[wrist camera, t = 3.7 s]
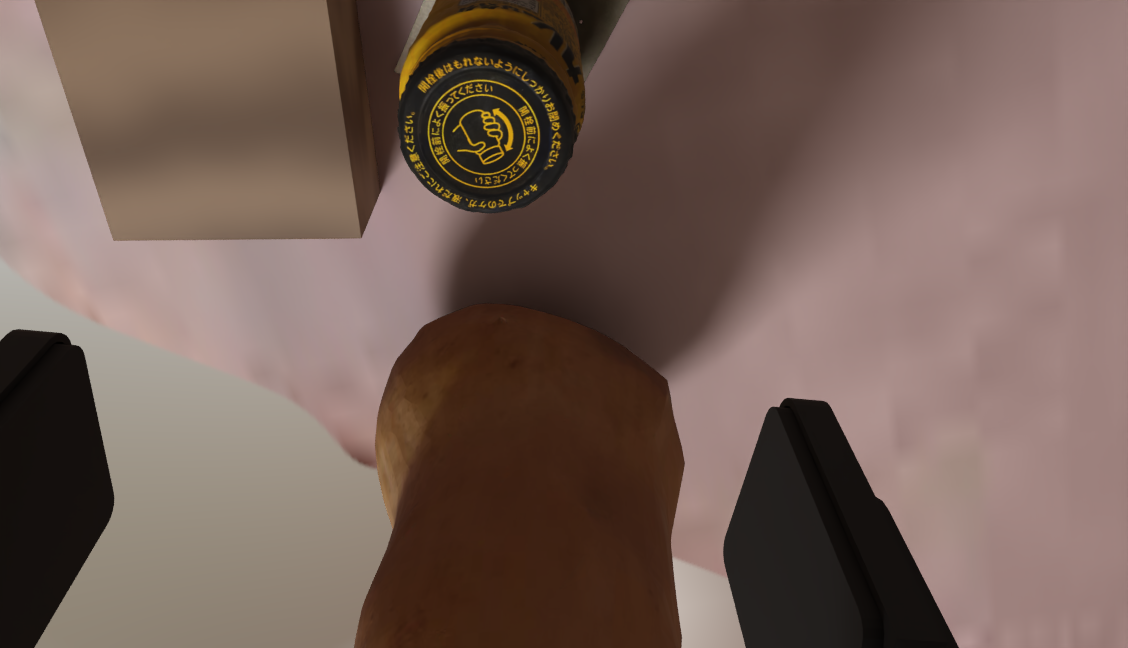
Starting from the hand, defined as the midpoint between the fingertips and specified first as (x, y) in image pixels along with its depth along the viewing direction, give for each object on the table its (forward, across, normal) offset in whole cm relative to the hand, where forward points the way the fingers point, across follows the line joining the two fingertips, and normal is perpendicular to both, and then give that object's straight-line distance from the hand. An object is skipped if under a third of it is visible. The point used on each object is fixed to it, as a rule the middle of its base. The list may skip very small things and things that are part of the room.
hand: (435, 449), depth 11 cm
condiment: (+26, -1, 0) cm, 26 cm away
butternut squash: (+26, -3, +17) cm, 31 cm away
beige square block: (+27, +10, +4) cm, 29 cm away
